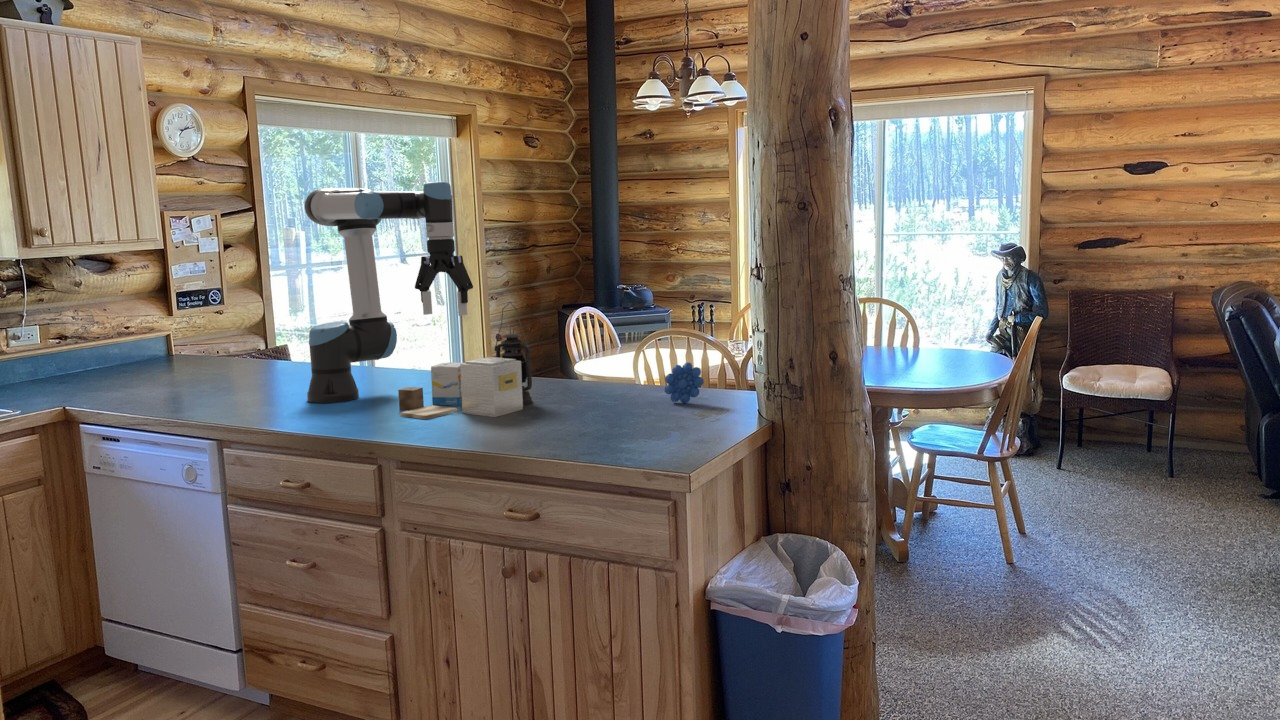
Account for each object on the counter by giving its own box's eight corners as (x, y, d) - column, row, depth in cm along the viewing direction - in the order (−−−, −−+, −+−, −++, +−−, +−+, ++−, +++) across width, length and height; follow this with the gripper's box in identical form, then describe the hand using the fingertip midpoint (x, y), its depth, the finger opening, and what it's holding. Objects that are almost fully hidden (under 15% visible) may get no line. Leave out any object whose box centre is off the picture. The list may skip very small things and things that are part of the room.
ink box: (458, 406, 279) (456, 366, 278) (431, 405, 281) (429, 366, 279) (469, 400, 288) (468, 362, 286) (443, 400, 289) (441, 361, 288)
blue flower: (707, 401, 278) (706, 360, 277) (702, 405, 272) (701, 364, 270) (668, 399, 282) (667, 359, 280) (662, 404, 275) (661, 363, 274)
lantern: (541, 400, 285) (538, 300, 280) (523, 407, 275) (519, 303, 271) (506, 398, 290) (502, 299, 286) (486, 404, 280) (482, 302, 276)
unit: (462, 413, 268) (460, 361, 266) (491, 405, 278) (488, 356, 276) (496, 417, 262) (493, 364, 260) (524, 409, 272) (522, 358, 270)
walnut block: (399, 410, 275) (398, 389, 274) (408, 407, 280) (407, 386, 279) (414, 411, 273) (413, 390, 273) (423, 407, 278) (422, 387, 277)
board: (400, 416, 266) (400, 412, 266) (431, 408, 276) (431, 405, 276) (426, 419, 261) (426, 415, 261) (457, 411, 271) (457, 408, 271)
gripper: (399, 240, 269) (404, 315, 272) (463, 237, 255) (468, 316, 258) (418, 239, 275) (423, 312, 278) (483, 237, 261) (487, 314, 264)
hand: (445, 314), depth 268 cm, fingers open, 13 cm apart
